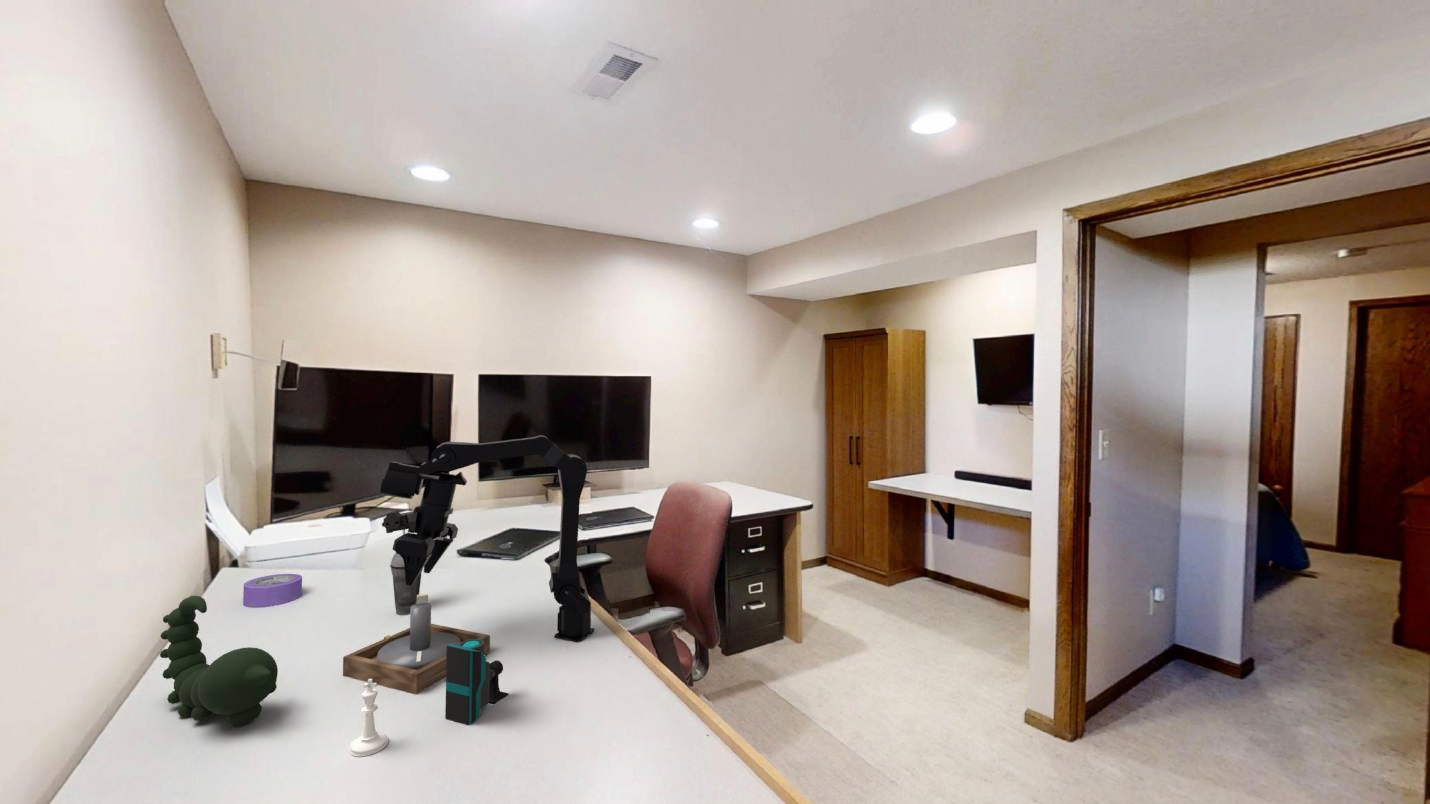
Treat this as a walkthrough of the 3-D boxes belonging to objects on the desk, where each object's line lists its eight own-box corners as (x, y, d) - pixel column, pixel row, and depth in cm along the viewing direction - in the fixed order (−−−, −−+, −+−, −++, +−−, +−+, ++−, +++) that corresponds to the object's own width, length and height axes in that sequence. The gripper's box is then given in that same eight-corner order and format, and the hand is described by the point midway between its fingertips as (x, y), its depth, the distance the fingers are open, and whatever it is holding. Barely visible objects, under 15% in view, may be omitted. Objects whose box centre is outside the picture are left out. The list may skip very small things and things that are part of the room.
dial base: (490, 651, 116) (490, 632, 116) (416, 694, 99) (416, 672, 99) (422, 637, 123) (423, 619, 123) (341, 675, 105) (342, 654, 105)
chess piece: (360, 737, 87) (361, 672, 87) (394, 736, 87) (395, 671, 87) (342, 757, 82) (343, 688, 82) (377, 756, 82) (379, 687, 82)
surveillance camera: (514, 627, 99) (471, 651, 90) (513, 696, 99) (470, 726, 90) (489, 622, 101) (444, 645, 92) (487, 689, 101) (443, 718, 92)
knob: (460, 663, 107) (461, 613, 107) (372, 678, 101) (373, 624, 101) (459, 634, 120) (460, 589, 120) (381, 646, 114) (382, 598, 114)
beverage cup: (408, 618, 133) (410, 533, 133) (381, 615, 134) (383, 531, 134) (430, 607, 140) (431, 526, 140) (404, 605, 141) (405, 525, 141)
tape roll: (292, 589, 152) (292, 570, 152) (309, 598, 145) (309, 579, 145) (236, 601, 142) (236, 581, 142) (251, 612, 136) (252, 591, 136)
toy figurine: (141, 723, 92) (236, 747, 83) (137, 603, 93) (231, 613, 83) (212, 695, 101) (305, 714, 91) (208, 585, 102) (300, 593, 92)
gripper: (414, 490, 124) (396, 560, 123) (374, 501, 106) (353, 584, 105) (465, 499, 125) (449, 569, 124) (435, 512, 107) (415, 595, 106)
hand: (418, 578), depth 115 cm, fingers open, 9 cm apart
